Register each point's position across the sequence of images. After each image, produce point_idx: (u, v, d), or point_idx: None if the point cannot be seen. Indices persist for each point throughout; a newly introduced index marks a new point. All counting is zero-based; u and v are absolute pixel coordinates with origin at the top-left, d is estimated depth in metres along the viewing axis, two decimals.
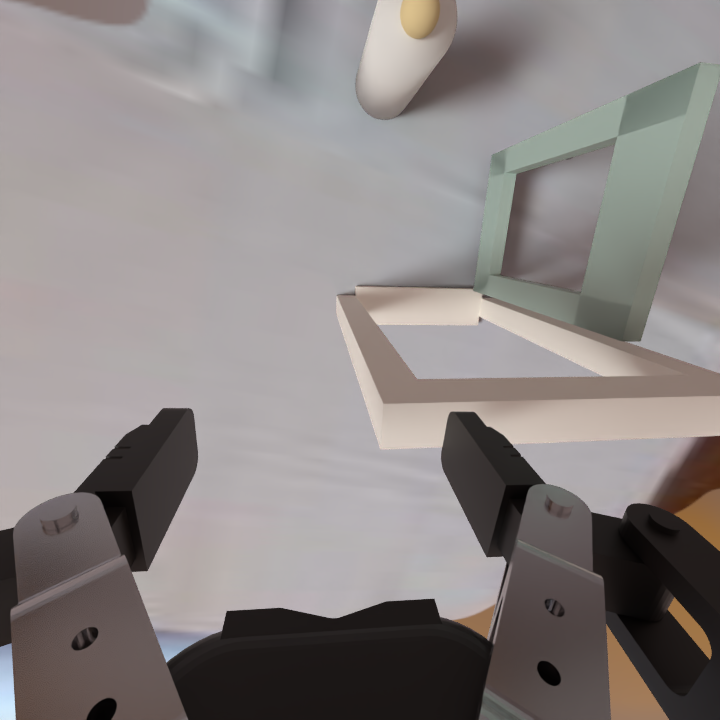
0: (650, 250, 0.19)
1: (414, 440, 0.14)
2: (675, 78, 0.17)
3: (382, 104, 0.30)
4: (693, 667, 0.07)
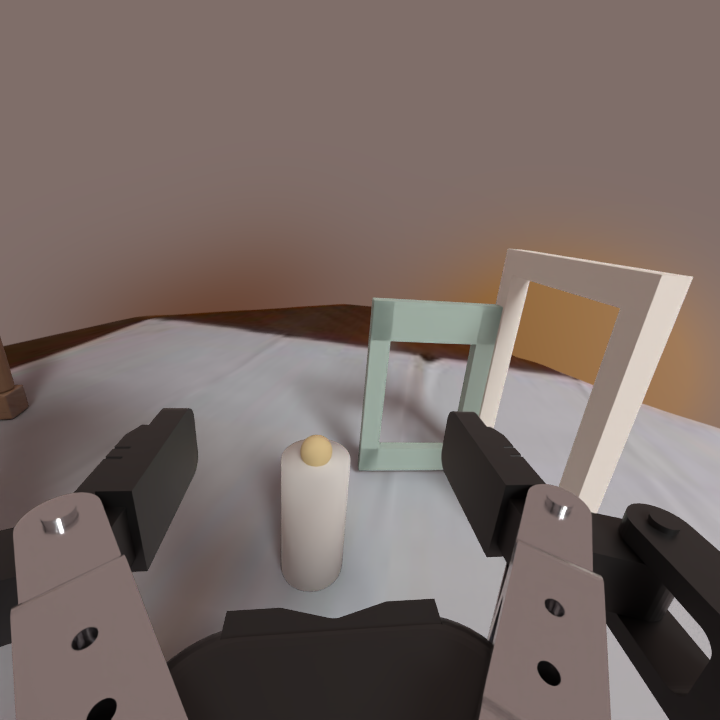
0: (455, 304, 0.35)
1: (666, 273, 0.22)
2: (375, 311, 0.34)
3: (343, 536, 0.30)
4: (693, 667, 0.07)
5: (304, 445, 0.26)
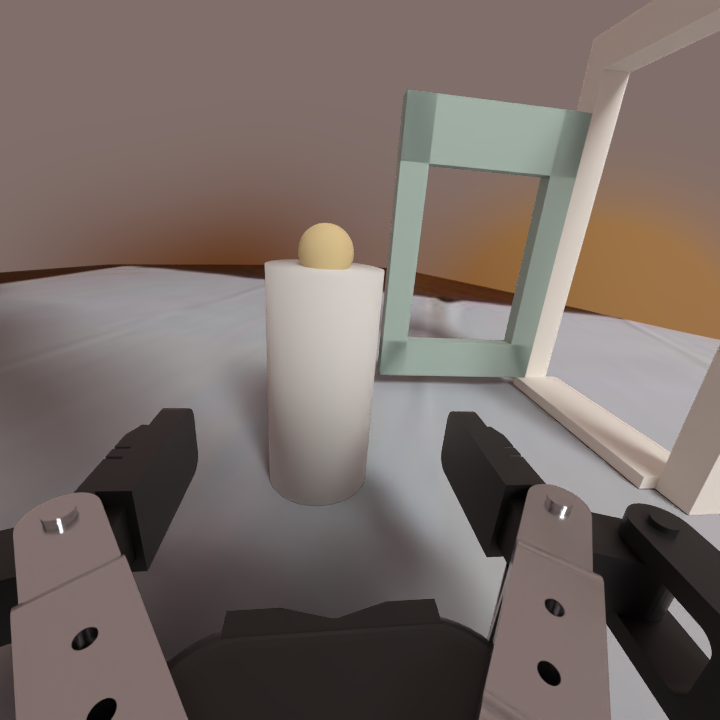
0: None
1: None
2: (409, 110, 0.23)
3: None
4: (693, 667, 0.07)
5: (305, 233, 0.15)
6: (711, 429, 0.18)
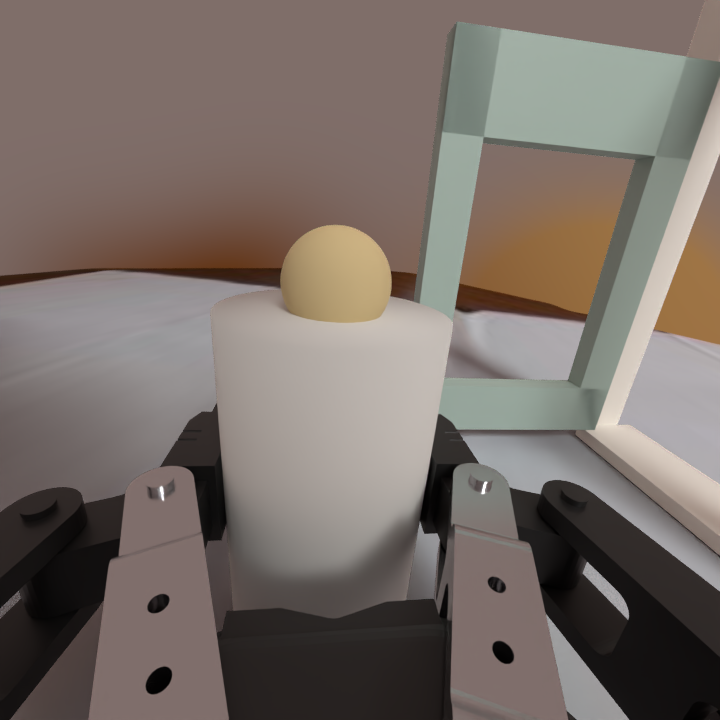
0: (626, 50, 0.16)
1: None
2: (458, 54, 0.15)
3: None
4: (609, 623, 0.07)
5: (294, 247, 0.07)
6: None
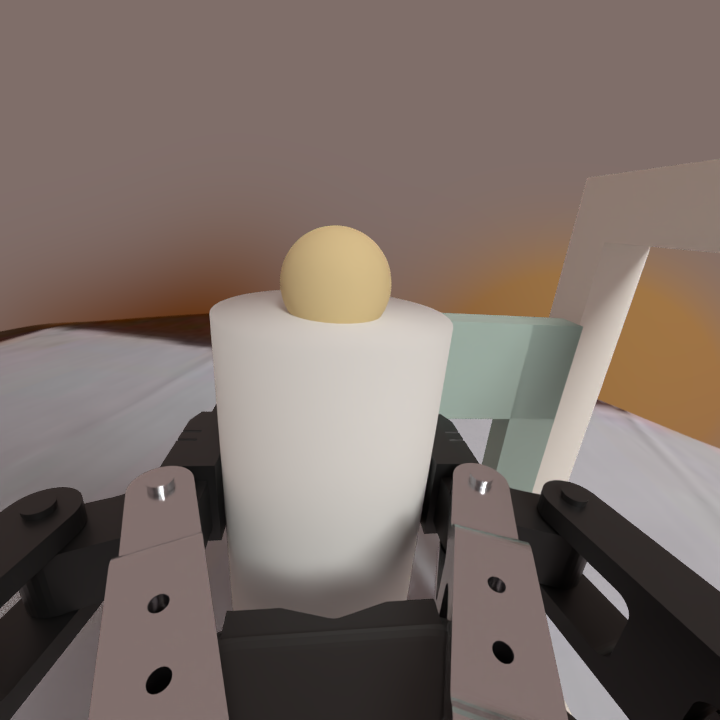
0: (456, 320, 0.13)
1: None
2: None
3: None
4: (609, 623, 0.07)
5: (294, 247, 0.07)
6: None
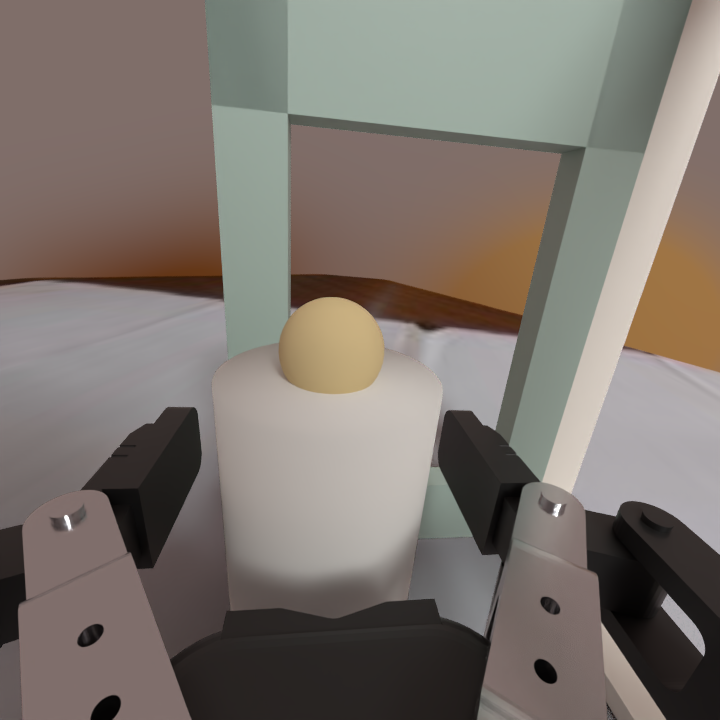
0: None
1: None
2: None
3: None
4: (686, 663, 0.07)
5: (292, 321, 0.08)
6: None
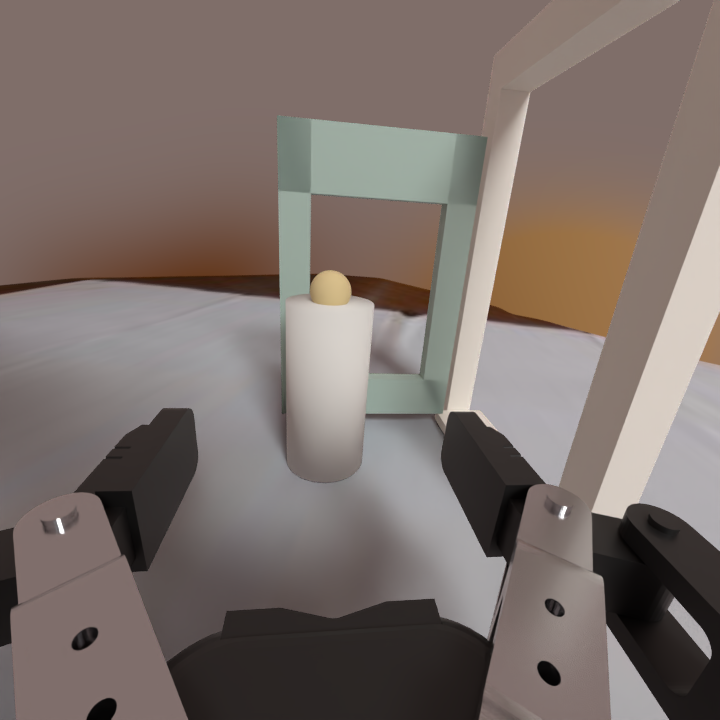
0: None
1: None
2: (281, 137, 0.21)
3: None
4: (693, 667, 0.07)
5: (315, 279, 0.20)
6: None
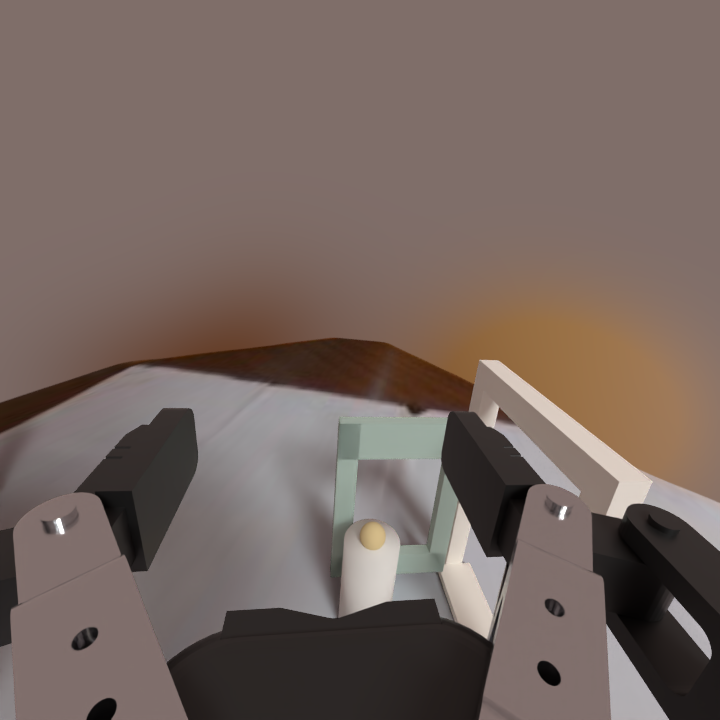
0: (424, 422, 0.34)
1: (626, 465, 0.21)
2: (341, 433, 0.33)
3: None
4: (693, 667, 0.07)
5: (364, 533, 0.32)
6: None
